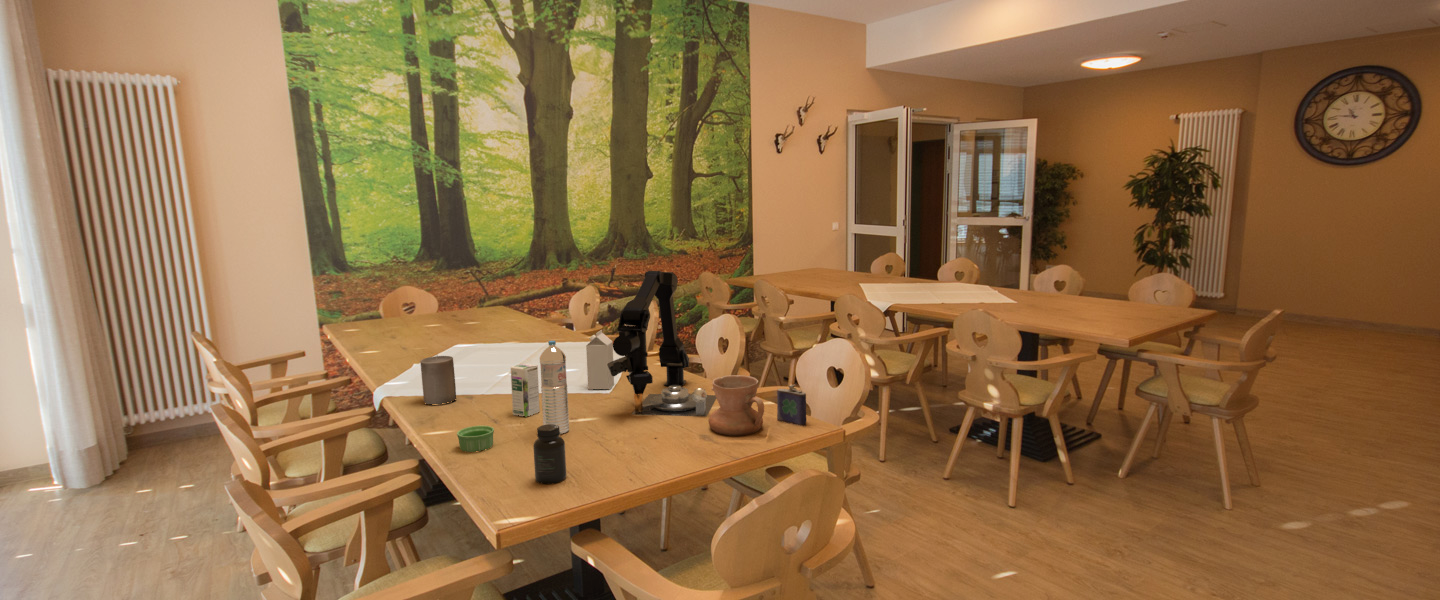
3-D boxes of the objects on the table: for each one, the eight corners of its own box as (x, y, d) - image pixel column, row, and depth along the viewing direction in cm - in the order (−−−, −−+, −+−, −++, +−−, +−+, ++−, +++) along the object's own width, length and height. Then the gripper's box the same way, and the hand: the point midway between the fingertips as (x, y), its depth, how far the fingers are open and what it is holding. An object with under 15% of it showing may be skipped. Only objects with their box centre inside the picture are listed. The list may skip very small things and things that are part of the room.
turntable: (623, 404, 214) (622, 388, 213) (686, 393, 225) (685, 377, 225) (647, 418, 201) (646, 400, 200) (713, 405, 212) (712, 388, 211)
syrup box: (512, 415, 210) (509, 366, 208) (526, 409, 215) (523, 362, 213) (526, 417, 207) (524, 368, 205) (540, 412, 212) (538, 364, 210)
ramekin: (466, 441, 188) (464, 425, 187) (500, 441, 187) (499, 425, 187) (452, 453, 179) (451, 436, 178) (487, 453, 179) (486, 436, 178)
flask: (775, 420, 201) (775, 383, 199) (781, 418, 203) (781, 381, 201) (803, 427, 195) (803, 388, 193) (809, 424, 197) (809, 386, 196)
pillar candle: (457, 396, 232) (453, 350, 230) (456, 403, 223) (452, 356, 221) (424, 399, 229) (420, 353, 227) (422, 407, 220) (418, 359, 218)
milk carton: (614, 384, 243) (612, 329, 240) (609, 390, 236) (606, 333, 233) (593, 384, 243) (591, 329, 241) (587, 390, 236) (585, 333, 234)
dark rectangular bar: (694, 412, 206) (694, 385, 205) (708, 413, 205) (708, 385, 204) (692, 416, 203) (692, 388, 201) (706, 416, 202) (706, 389, 201)
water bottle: (560, 426, 199) (556, 337, 196) (574, 431, 194) (570, 340, 191) (538, 431, 194) (533, 341, 191) (552, 437, 189) (547, 344, 186)
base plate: (649, 396, 227) (649, 393, 227) (718, 398, 224) (718, 395, 224) (631, 417, 205) (630, 414, 205) (706, 419, 202) (706, 416, 202)
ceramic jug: (694, 431, 193) (693, 380, 190) (732, 418, 203) (732, 369, 200) (742, 448, 180) (741, 393, 178) (780, 434, 190) (780, 382, 187)
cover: (657, 399, 216) (656, 385, 215) (680, 395, 220) (680, 381, 219) (669, 405, 209) (669, 391, 208) (693, 401, 213) (693, 387, 213)
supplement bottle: (545, 471, 166) (542, 421, 164) (571, 474, 164) (569, 423, 162) (529, 483, 159) (526, 431, 157) (556, 486, 157) (554, 433, 155)
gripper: (605, 344, 215) (607, 394, 217) (611, 357, 197) (614, 412, 200) (642, 341, 218) (644, 391, 220) (652, 354, 200) (653, 408, 202)
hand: (638, 400), depth 210 cm, fingers closed
